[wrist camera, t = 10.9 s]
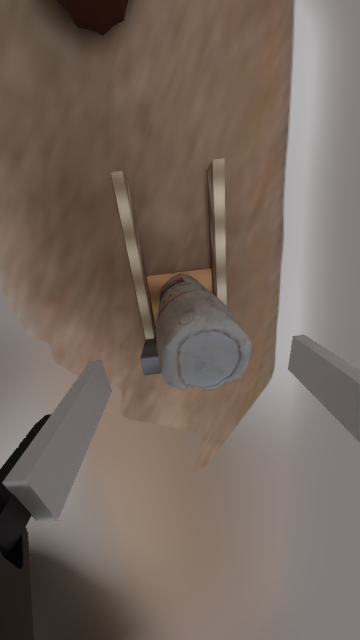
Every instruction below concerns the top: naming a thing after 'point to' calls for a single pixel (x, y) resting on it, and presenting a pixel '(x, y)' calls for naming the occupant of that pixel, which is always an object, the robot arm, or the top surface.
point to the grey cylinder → (198, 337)
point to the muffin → (96, 13)
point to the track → (158, 281)
